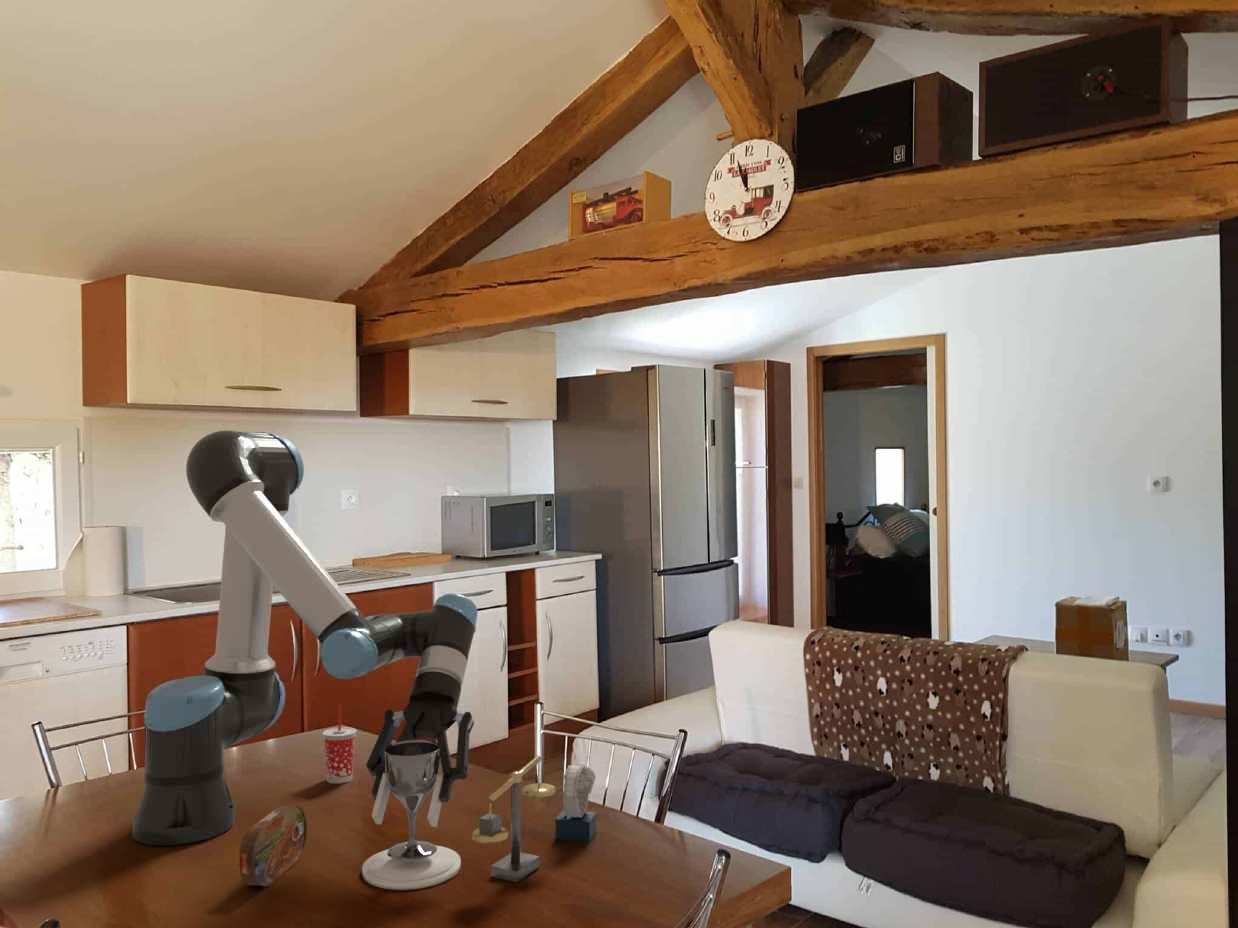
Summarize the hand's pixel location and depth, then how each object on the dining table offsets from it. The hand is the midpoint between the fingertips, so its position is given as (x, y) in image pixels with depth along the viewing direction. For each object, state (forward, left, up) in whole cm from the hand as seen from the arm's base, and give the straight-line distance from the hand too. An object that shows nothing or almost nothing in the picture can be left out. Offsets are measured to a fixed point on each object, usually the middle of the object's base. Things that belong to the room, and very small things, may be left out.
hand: (404, 820), depth 137 cm
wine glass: (-1, +3, -6) cm, 7 cm away
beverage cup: (-39, +29, -8) cm, 50 cm away
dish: (-1, +3, -8) cm, 9 cm away
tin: (-18, -7, -8) cm, 21 cm away
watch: (+14, +25, -8) cm, 30 cm away
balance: (+13, +9, -8) cm, 18 cm away
